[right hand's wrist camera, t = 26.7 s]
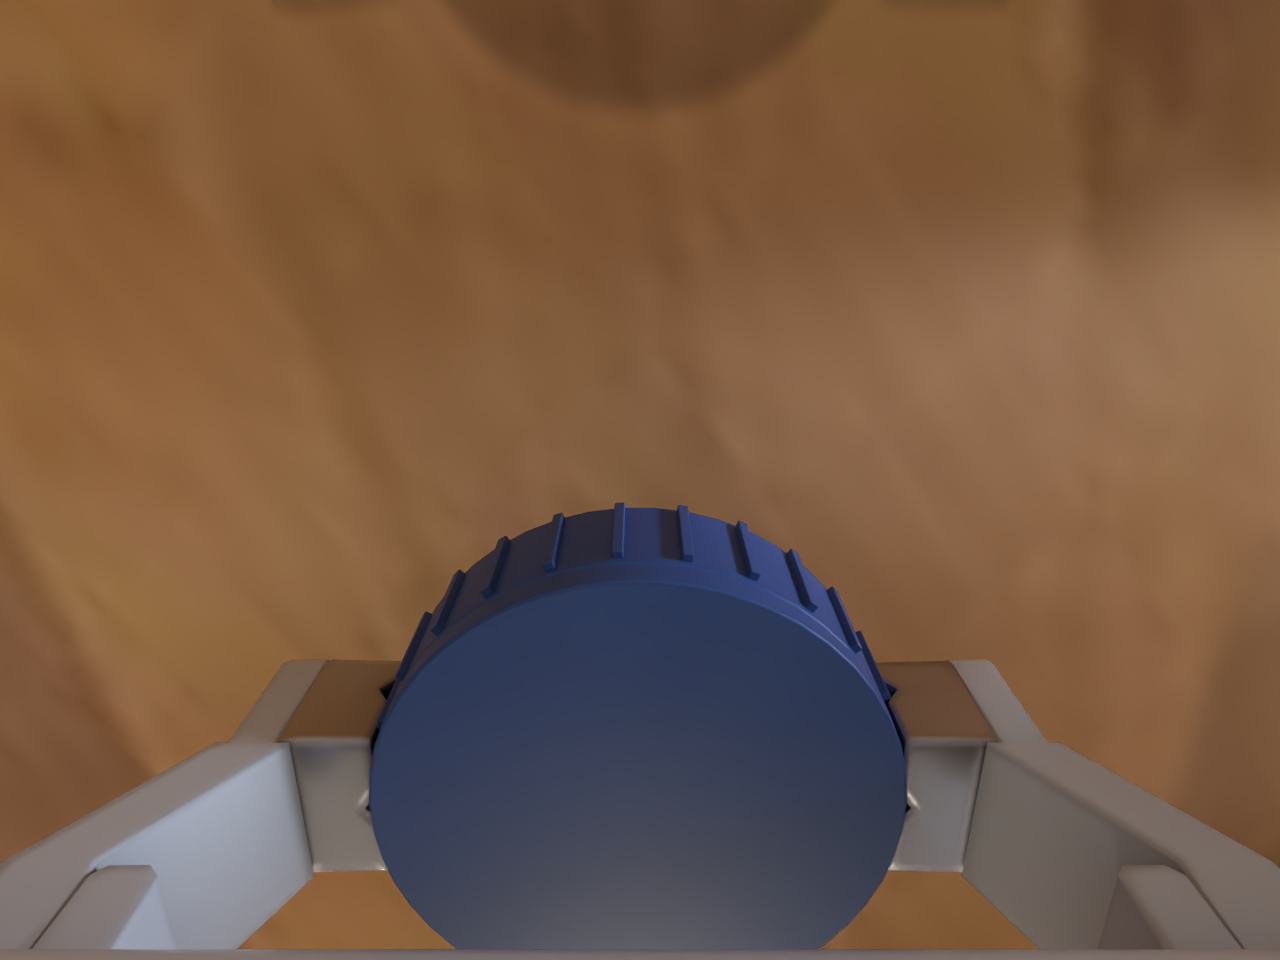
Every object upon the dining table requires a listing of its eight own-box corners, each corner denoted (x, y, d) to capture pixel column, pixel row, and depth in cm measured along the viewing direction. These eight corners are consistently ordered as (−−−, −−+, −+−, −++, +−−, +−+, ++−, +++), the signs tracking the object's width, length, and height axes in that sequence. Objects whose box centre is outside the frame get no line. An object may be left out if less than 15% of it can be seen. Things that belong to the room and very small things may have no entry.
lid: (879, 482, 9) (931, 554, 8) (864, 876, 11) (901, 997, 10) (364, 515, 9) (306, 592, 8) (444, 898, 11) (411, 1022, 10)
